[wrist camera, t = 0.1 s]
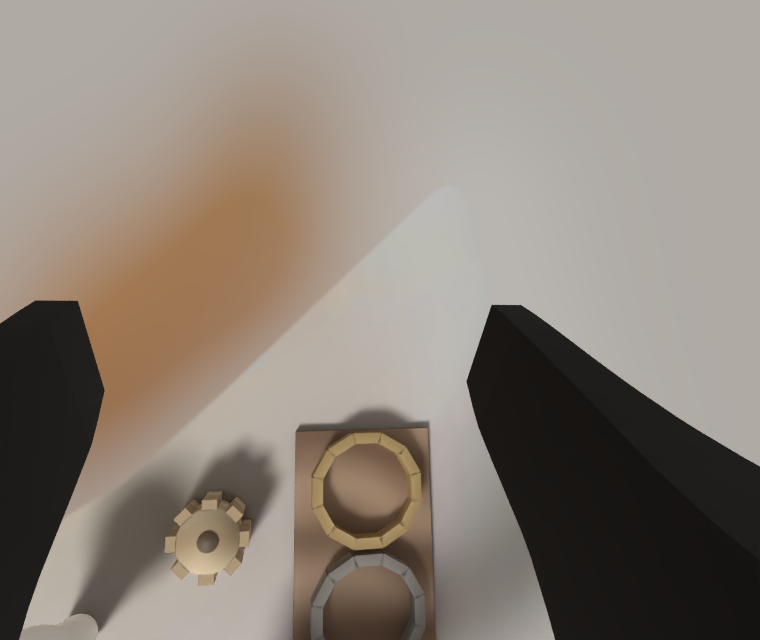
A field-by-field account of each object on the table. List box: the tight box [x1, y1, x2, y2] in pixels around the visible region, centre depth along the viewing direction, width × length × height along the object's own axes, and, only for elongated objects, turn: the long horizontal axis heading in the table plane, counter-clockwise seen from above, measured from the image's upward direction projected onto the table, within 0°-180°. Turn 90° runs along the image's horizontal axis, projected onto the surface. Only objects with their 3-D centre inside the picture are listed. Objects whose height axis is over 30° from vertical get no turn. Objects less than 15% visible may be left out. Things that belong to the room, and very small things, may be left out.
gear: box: [165, 491, 251, 586], centre depth 35 cm, size 5×5×4 cm
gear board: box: [293, 428, 435, 640], centre depth 38 cm, size 18×11×2 cm, turn 1°
